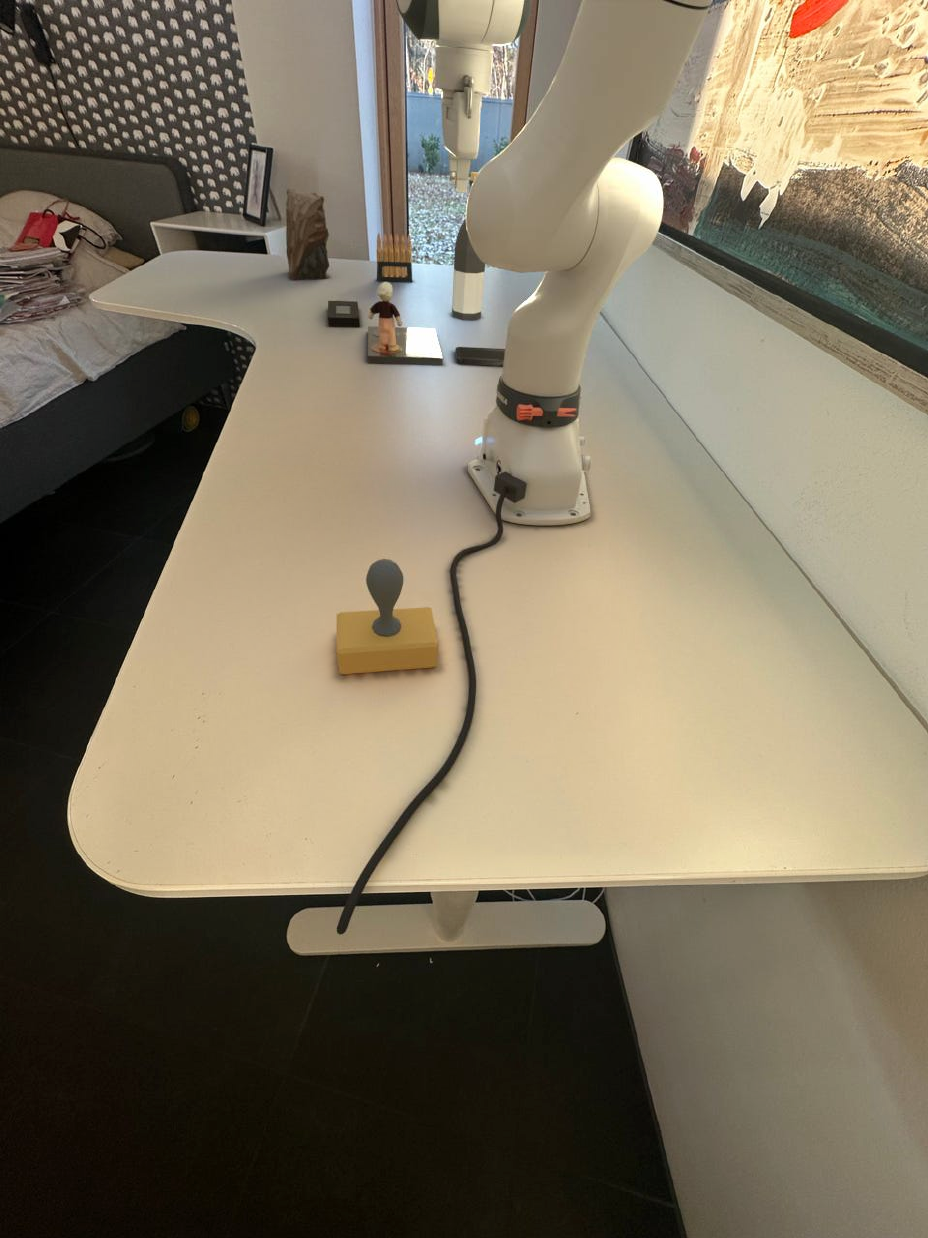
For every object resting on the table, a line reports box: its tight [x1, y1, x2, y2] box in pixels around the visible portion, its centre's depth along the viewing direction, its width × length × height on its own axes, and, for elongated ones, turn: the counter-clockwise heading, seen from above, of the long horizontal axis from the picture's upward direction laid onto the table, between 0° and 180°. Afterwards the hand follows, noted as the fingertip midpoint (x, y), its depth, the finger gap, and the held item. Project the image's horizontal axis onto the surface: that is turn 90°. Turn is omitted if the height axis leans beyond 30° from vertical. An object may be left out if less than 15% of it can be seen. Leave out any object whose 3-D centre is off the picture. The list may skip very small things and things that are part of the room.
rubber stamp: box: [336, 558, 439, 675], centre depth 54 cm, size 10×6×12 cm, turn 99°
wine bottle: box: [451, 171, 486, 321], centre depth 136 cm, size 8×8×30 cm
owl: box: [285, 188, 330, 281], centre depth 159 cm, size 13×13×20 cm
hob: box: [367, 325, 444, 366], centre depth 125 cm, size 20×16×2 cm
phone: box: [454, 346, 505, 367], centre depth 123 cm, size 8×1×15 cm
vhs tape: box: [327, 300, 361, 328], centre depth 137 cm, size 8×14×2 cm, turn 10°
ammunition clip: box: [376, 232, 413, 283], centre depth 164 cm, size 11×2×12 cm, turn 102°
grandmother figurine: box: [368, 281, 403, 351], centre depth 116 cm, size 8×4×13 cm, turn 81°
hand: (457, 187), depth 95 cm, fingers open, 8 cm apart
